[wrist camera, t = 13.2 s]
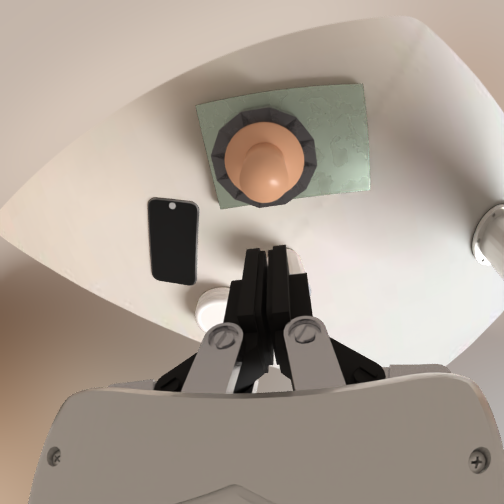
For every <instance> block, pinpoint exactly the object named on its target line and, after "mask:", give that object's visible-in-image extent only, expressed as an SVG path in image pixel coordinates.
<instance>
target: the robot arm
mask: <svg viewBox="0 0 504 504" xmlns="http://www.w3.org/2000/svg"><path fill="white" fill-rule="evenodd" d="M472 251H473V255H474V257H475V258H476V260H477V261H478V262H479V263H480V264H483V265H490V264H491V265H492V267H493V268H494V269H495V270H496V271H497V273H498V274H499V275H500V276H501V278H502V279H503V280H504V204H500V205H497V206H495V207H493V208H491V209H490V210H489V211H488V212H487V213H486V214H485V215H484V216H483V218H482V219H481V221H480V222H479V224H478V226H477V228H476V231H475V233H474V237H473V243H472ZM274 353H275V358H276V363H277V365H280V370H281V373H283V374H284V375H285V376H286V377H288V378H289V379H291V383H292V389H293V391H287V392H271V393H256V392H257V387H258V379H259V378H260V377H261V376H262V375H263V374H264V373H268V367H269V365H273V356H274ZM28 504H504V450H503V446H502V441H501V437H500V433H499V430H498V427H497V424H496V422H495V418H494V415H493V413H492V410H491V408H490V406H489V403H488V401H487V399H486V397H485V395H484V394H483V392H482V390H481V389H480V388H479V386H478V385H477V384H476V383H475V382H473V381H472V380H471V379H469V378H467V377H464V376H461V375H456V374H451V372H450V371H449V369H448V368H447V367H445V366H443V365H439V364H422V365H390V366H389V367H381V366H380V365H379V364H377V363H376V362H374V361H372V360H370V359H368V358H366V357H365V356H363V355H361V354H359V353H357V352H356V351H354V350H352V349H350V348H348V347H347V346H345V345H343V344H341V343H339V342H338V341H336V340H334V339H332V338H330V337H329V335H328V333H327V330H326V327H325V325H324V324H323V322H322V321H321V320H319V319H318V318H316V317H313V316H312V308H311V300H310V293H309V286H308V279H307V273H300V274H292V275H290V273H289V265H288V258H287V250H286V245H280V246H273V250H268V264H267V259H266V253H265V251H260V248H255V249H247V251H246V257H245V264H244V270H243V277H242V280H235V281H232V282H231V285H230V290H229V295H228V300H227V305H226V311H225V316H224V321H223V323H220V324H217V325H215V326H213V327H212V328H210V329H209V330H208V331H207V333H206V334H205V336H204V338H203V341H202V343H201V345H200V348H199V350H198V352H197V353H195V354H194V355H193V356H191V357H190V358H189V359H187V360H185V361H184V362H182V363H181V364H180V365H178V366H177V367H175V368H174V369H172V370H171V371H169V372H168V373H166V374H165V375H163V376H162V377H161V378H160V379H159V380H158V381H154V380H153V379H150V380H143V381H135V382H127V383H118V384H113V385H110V386H108V387H99V388H91V389H86V390H82V391H79V392H76V393H74V394H72V395H71V396H69V397H68V398H67V399H66V400H65V402H64V403H63V404H62V406H61V408H60V409H59V411H58V413H57V415H56V417H55V419H54V421H53V423H52V426H51V428H50V431H49V433H48V436H47V438H46V441H45V443H44V446H43V450H42V452H41V455H40V459H39V462H38V466H37V468H36V472H35V475H34V479H33V483H32V488H31V492H30V497H29V503H28Z"/></svg>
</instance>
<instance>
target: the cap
mask: <svg viewBox="0 0 504 504" xmlns="http://www.w3.org/2000/svg"><path fill="white" fill-rule="evenodd" d="M225 168H226V171H227V174H228V176H229V178H230V180H231V181H232V182H233V184H234V185H235V186H236V187H237V188H238V189H240V190H241V191H243V193H244V194H245V195H246V196H247V197H248V198H250V199H251V200H253V201H256V202H260V203H269V202H273V201H275V200H277V199H279V198H280V197H281V196H282V195H283V194H284V193H285V192H287V191H288V190H290V189H291V188H292V187H293V186H294V185H295V184H296V183H297V181H298V180H299V178H300V176H301V174H302V172H303V168H304V154H303V150H302V147H301V145H300V143H299V141H298V140H297V138H296V137H295V135H294V134H293V133H292V132H291V131H289V130H288V129H287V128H285V127H283V126H281V125H279V124H276V123H272V122H256V123H252V124H249V125H247V126H245V127H243V128H242V129H240V130H239V131H238V132H237V133H236V134H235V135H234V136H233V138H232V139H231V141H230V142H229V144H228V146H227V149H226V153H225Z"/></svg>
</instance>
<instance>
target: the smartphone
mask: <svg viewBox="0 0 504 504" xmlns="http://www.w3.org/2000/svg"><path fill="white" fill-rule="evenodd" d="M148 219H149V238H150V256H151V266H152V275H153V277H154V278H155V279H157V280H159V281H165V282H171V283H177V284H183V285H194V284H195V283H196V280H197V245H198V221H199V207H198V206H197V204H196V203H194V202H191V201H184V200H175V199H166V198H152V199H151V200H150V201H149V202H148Z"/></svg>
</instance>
